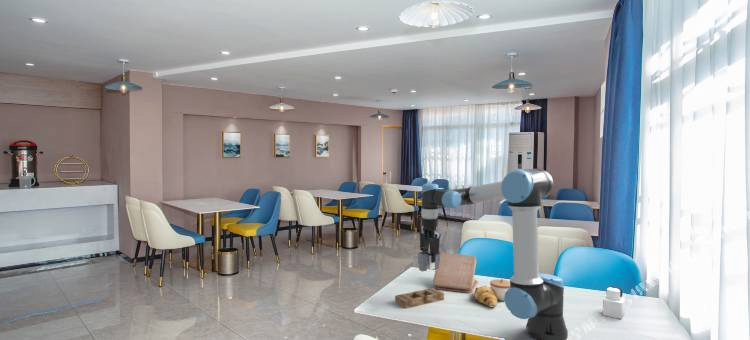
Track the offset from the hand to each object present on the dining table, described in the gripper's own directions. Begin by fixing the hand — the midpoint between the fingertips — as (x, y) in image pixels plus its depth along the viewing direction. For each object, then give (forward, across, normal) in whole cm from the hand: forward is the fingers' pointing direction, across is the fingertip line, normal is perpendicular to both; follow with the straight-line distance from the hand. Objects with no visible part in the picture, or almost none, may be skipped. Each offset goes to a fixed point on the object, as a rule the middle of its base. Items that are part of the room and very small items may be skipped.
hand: (429, 267), depth 201 cm
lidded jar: (+17, -11, -35) cm, 41 cm away
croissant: (+17, -10, -26) cm, 32 cm away
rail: (+18, +6, 0) cm, 19 cm away
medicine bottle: (+17, -51, -62) cm, 81 cm away
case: (+18, +15, -30) cm, 38 cm away
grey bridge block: (+1, 0, 0) cm, 1 cm away
